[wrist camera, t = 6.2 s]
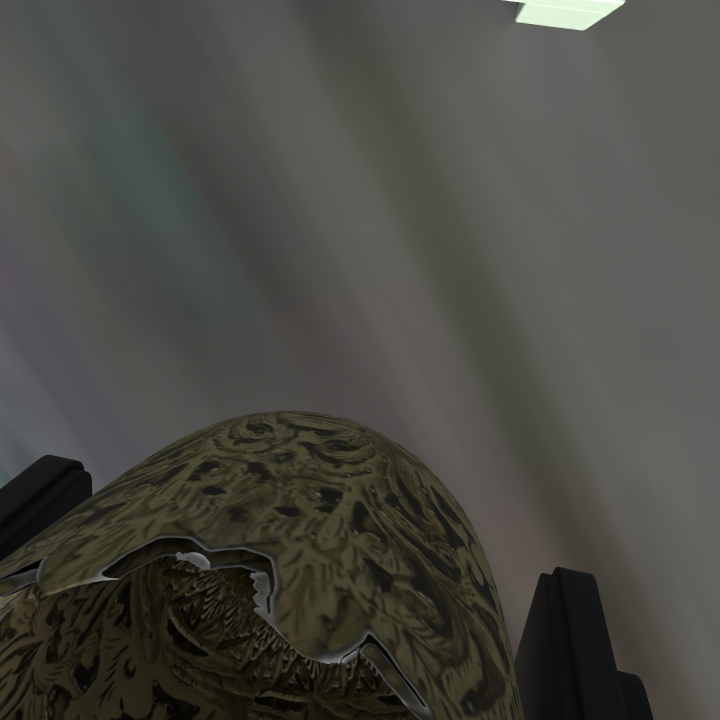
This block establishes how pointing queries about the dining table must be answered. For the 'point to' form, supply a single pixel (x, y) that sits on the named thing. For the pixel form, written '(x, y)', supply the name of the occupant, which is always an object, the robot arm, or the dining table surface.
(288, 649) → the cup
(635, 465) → the dining table surface
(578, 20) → the shelf
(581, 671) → the robot arm
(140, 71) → the dining table surface
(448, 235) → the dining table surface
